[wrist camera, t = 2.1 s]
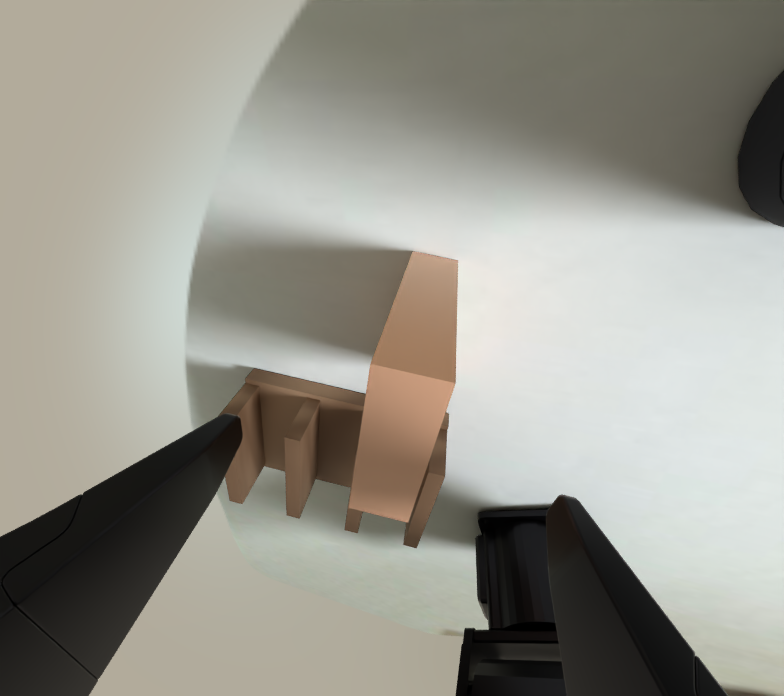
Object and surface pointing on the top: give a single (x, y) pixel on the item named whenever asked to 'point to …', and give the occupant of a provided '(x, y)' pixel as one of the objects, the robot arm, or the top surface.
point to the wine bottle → (765, 156)
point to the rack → (313, 444)
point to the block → (407, 389)
